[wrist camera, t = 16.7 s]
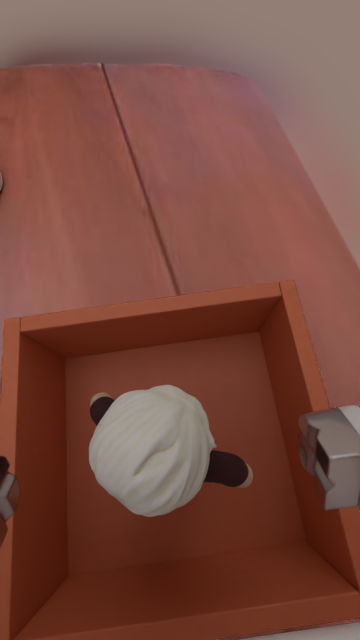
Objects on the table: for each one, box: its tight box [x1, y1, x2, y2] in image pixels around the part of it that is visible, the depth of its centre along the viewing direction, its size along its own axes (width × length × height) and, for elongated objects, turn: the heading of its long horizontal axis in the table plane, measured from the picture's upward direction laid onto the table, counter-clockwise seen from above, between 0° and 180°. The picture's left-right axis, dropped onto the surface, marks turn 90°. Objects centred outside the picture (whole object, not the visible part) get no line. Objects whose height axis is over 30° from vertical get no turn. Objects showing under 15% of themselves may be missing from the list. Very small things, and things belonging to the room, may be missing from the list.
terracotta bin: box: [0, 280, 360, 640], centre depth 17 cm, size 15×14×7 cm
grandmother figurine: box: [89, 385, 253, 517], centre depth 14 cm, size 8×4×13 cm, turn 77°
